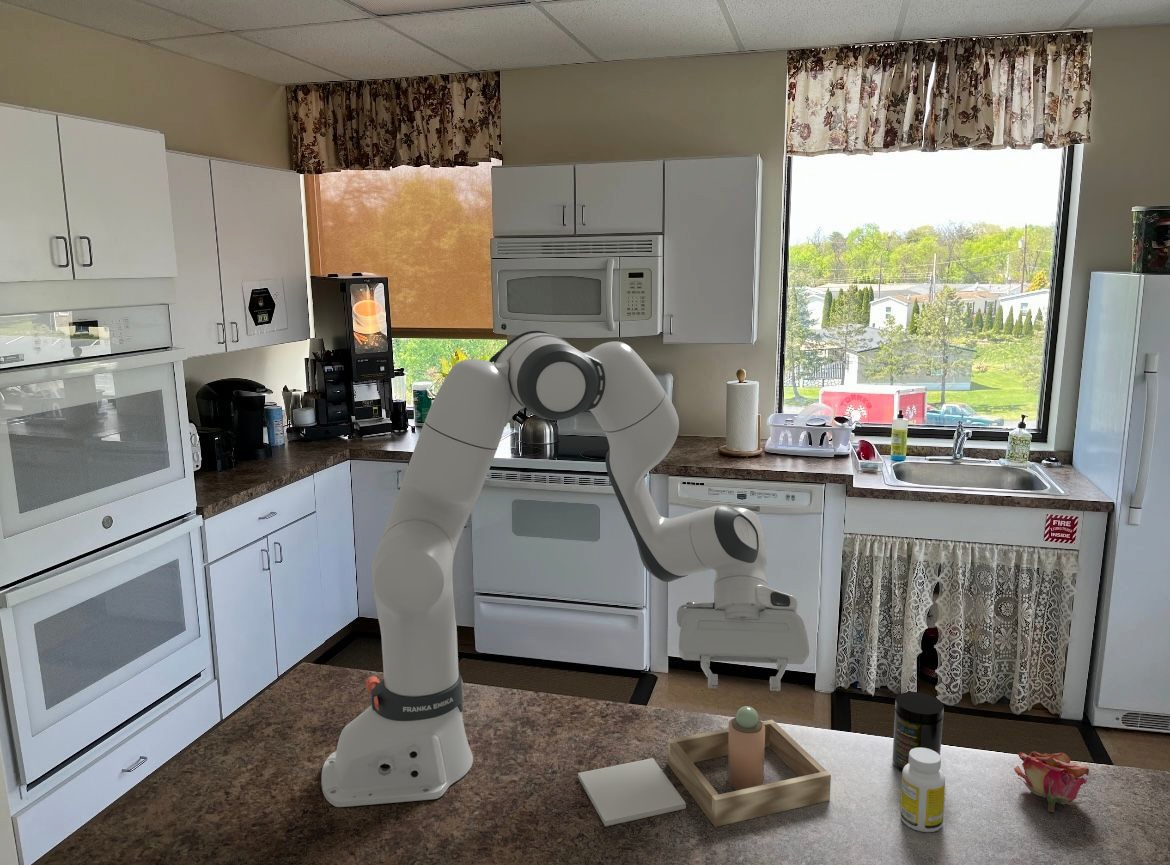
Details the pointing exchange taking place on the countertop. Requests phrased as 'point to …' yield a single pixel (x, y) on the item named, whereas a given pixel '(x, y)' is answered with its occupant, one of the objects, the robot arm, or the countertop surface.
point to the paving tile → (630, 791)
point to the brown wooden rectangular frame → (755, 799)
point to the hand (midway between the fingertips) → (744, 688)
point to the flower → (1052, 777)
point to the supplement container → (916, 725)
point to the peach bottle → (746, 750)
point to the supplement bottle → (923, 791)
